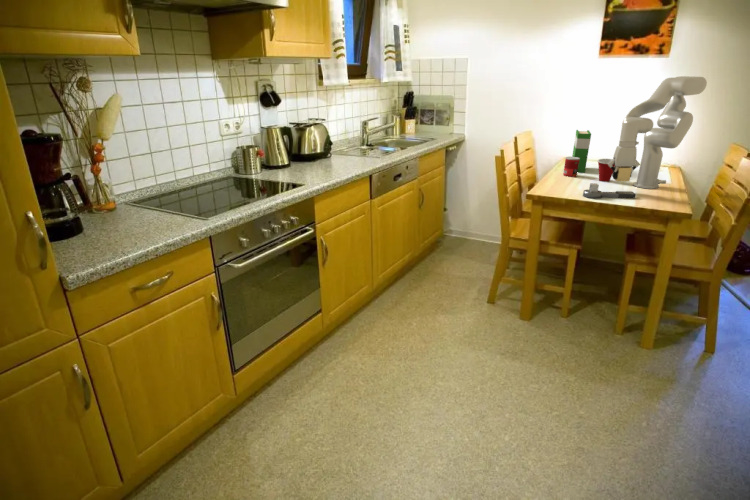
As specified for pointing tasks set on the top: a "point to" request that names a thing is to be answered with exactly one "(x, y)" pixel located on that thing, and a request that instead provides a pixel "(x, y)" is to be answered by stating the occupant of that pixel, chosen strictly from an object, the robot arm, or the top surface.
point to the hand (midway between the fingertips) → (621, 178)
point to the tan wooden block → (623, 174)
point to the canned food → (571, 166)
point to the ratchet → (606, 193)
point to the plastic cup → (605, 170)
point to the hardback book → (581, 148)
